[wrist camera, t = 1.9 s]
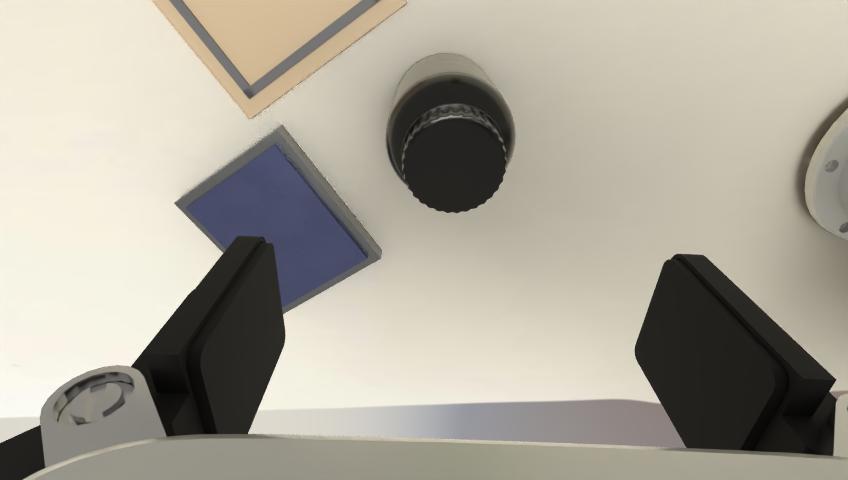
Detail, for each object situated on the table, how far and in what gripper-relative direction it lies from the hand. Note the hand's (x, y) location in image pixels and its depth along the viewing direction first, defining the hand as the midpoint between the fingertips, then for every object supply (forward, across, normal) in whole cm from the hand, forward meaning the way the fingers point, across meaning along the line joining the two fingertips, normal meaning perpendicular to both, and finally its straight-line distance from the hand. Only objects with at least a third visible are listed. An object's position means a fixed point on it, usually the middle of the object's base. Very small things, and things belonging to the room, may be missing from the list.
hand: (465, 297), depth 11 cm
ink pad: (+22, +12, +10) cm, 27 cm away
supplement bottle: (+23, 0, 0) cm, 23 cm away
